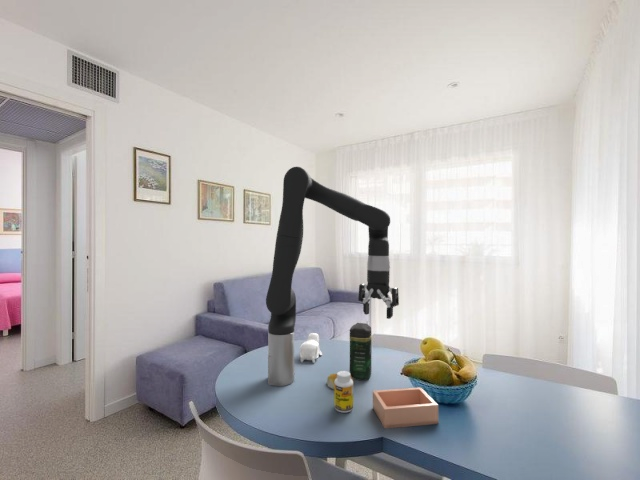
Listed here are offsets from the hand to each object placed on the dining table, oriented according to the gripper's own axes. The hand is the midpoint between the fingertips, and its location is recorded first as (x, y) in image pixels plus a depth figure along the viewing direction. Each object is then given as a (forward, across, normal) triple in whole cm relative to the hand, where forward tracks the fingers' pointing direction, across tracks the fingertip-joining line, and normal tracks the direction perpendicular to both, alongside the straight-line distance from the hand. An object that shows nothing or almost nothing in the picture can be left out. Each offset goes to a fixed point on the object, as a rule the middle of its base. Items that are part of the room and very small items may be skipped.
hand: (377, 316), depth 103 cm
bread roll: (+24, -10, -8) cm, 27 cm away
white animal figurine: (+24, -35, +6) cm, 43 cm away
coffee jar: (+24, -8, +3) cm, 26 cm away
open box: (+23, +15, -11) cm, 30 cm away
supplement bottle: (+24, 0, -19) cm, 31 cm away
